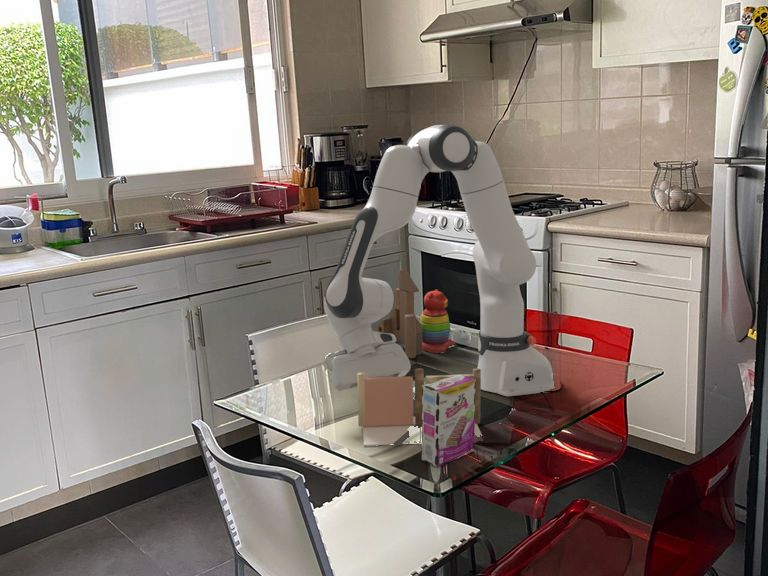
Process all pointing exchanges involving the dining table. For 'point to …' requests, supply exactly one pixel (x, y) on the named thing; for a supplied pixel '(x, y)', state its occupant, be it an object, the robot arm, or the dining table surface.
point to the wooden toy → (404, 317)
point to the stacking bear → (435, 323)
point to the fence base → (429, 379)
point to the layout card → (393, 434)
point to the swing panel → (385, 400)
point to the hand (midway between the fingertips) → (383, 397)
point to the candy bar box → (447, 419)
